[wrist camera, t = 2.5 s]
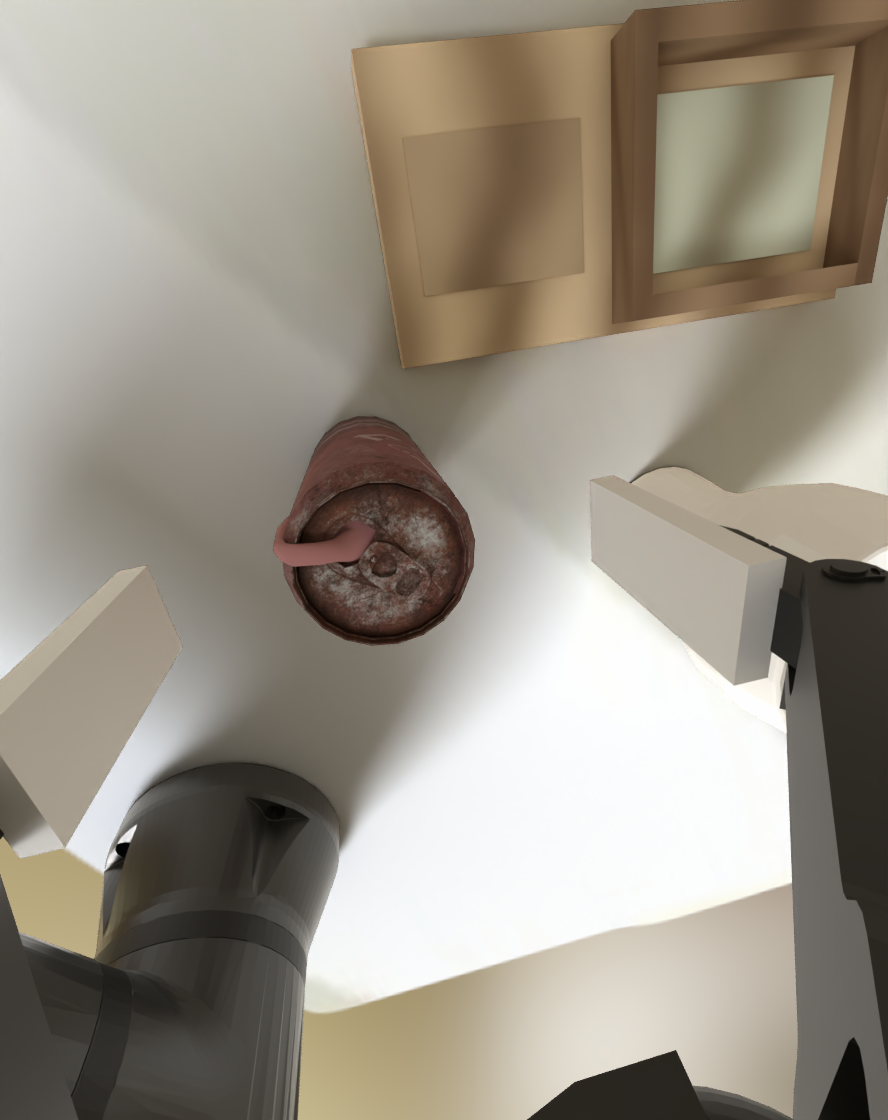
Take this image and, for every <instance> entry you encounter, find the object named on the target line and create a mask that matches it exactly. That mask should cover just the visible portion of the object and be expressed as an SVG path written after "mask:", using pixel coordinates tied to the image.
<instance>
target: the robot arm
mask: <svg viewBox="0 0 888 1120" xmlns="http://www.w3.org/2000/svg"><path fill="white" fill-rule="evenodd" d="M590 511H591V556H592V562H593V563H594V564H596V565H597V566H598V567H599V568H600V569H601V570H602V571H603V572H605V573H606V574H607V575H608V576H609V577H610V578H611V579H613V580H614V581H615V582H616V583H617V584H618V585H619V586H621V587H622V588H623V589H624V590H625V591H626V592H627V593H629V594H630V595H631V596H632V597H633V598H634V599H635V600H637V601H638V602H639V603H640V604H641V605H642V606H643V607H645V608H646V609H647V610H648V611H649V612H650V613H651V614H653V615H654V616H655V617H656V618H657V619H658V620H659V621H660V622H662V623H663V624H664V625H665V626H666V627H667V628H668V629H670V630H671V631H672V632H673V633H674V634H675V635H676V636H678V637H679V638H680V639H681V640H682V641H683V642H684V643H686V644H687V645H688V646H689V647H690V648H691V649H692V650H694V651H695V652H696V653H697V654H698V655H699V656H700V657H702V658H703V659H704V660H705V661H706V662H707V663H708V664H710V665H711V666H712V667H713V668H714V669H715V670H716V671H717V672H719V673H720V674H721V675H722V676H723V677H724V678H725V679H727V680H728V681H729V682H730V683H731V684H732V685H733V686H735V685H739V684H743V683H748V682H752V681H756V680H760V679H764V678H768V673H769V667H770V660H771V654H772V653H774V654H775V655H777V656H778V657H779V658H781V659H782V660H784V661H785V662H786V663H787V668H786V674H785V679H784V685H783V691H782V696H781V702H780V708H779V709H784V710H786V730H787V756H788V783H789V810H790V836H791V863H792V889H793V912H794V913H793V915H794V942H795V967H796V968H795V969H796V995H797V1019H798V1020H797V1022H798V1051H797V1065H796V1075H795V1086H794V1103H793V1104H794V1105H793V1119H791V1118H790V1117H788V1116H786V1115H784V1114H782V1113H780V1112H778V1111H776V1110H775V1109H773V1108H771V1107H769V1106H766V1105H764V1104H761V1103H758V1102H755V1101H753V1100H751V1099H748V1098H745V1097H743V1096H740V1095H737V1094H733V1093H729V1092H725V1091H721V1090H717V1089H713V1088H708V1087H701V1086H692V1084H691V1082H690V1080H689V1077H688V1075H687V1073H686V1071H685V1069H684V1066H683V1064H682V1062H681V1060H680V1058H679V1056H678V1053H677V1051H676V1050H675V1051H672V1052H669V1053H666V1054H662V1055H659V1056H656V1057H653V1058H650V1059H646V1060H643V1061H640V1062H637V1063H634V1064H631V1065H628V1066H624V1067H622V1068H618V1069H615V1070H612V1071H609V1072H605V1073H602V1074H599V1075H596V1076H593V1077H589V1078H586V1079H583V1080H580V1081H577V1082H574V1083H573V1084H572V1085H570V1087H568V1088H567V1089H565V1090H564V1091H563V1092H562V1093H560V1094H559V1095H558V1096H557V1097H555V1098H554V1099H553V1100H551V1101H550V1102H549V1103H548V1104H546V1105H545V1106H544V1107H543V1108H541V1109H540V1110H539V1111H538V1112H536V1113H535V1114H534V1115H532V1116H531V1117H530V1118H529V1119H527V1120H888V571H886V570H884V569H882V568H880V567H878V566H875V565H872V564H868V563H865V562H861V561H855V560H847V559H823V560H816V561H813V562H811V563H810V562H807V561H805V560H803V559H801V558H799V557H797V556H794V555H792V554H790V553H788V552H786V551H784V550H781V549H779V548H777V547H775V546H773V545H772V546H769V544H768V543H766V542H764V541H762V540H760V539H755V537H753V536H751V535H749V534H747V533H744V532H742V531H740V530H737V529H733V528H729V527H725V526H720V525H717V524H715V523H713V522H711V521H709V520H707V519H704V518H702V517H700V516H698V515H696V514H694V513H692V512H690V511H687V510H685V509H683V508H681V507H679V506H677V505H675V504H673V503H671V502H668V501H666V500H664V499H662V498H660V497H658V496H656V495H654V494H652V493H649V492H647V491H645V490H643V489H641V488H639V487H637V486H635V485H632V484H630V483H628V482H626V481H624V480H622V479H620V478H618V477H616V476H608V477H603V478H598V479H593V480H590ZM182 647H183V646H182V644H181V641H180V639H179V637H178V635H177V632H176V630H175V628H174V625H173V623H172V621H171V619H170V616H169V614H168V612H167V609H166V607H165V605H164V603H163V600H162V598H161V596H160V593H159V591H158V589H157V587H156V584H155V582H154V580H153V577H152V575H151V573H150V571H149V568H148V566H142V567H136V568H131V569H126V570H121V571H118V572H117V573H116V574H115V575H114V576H113V577H112V578H111V579H110V580H108V581H107V582H106V583H105V584H104V585H103V586H102V587H101V588H100V589H99V590H98V591H97V592H95V593H94V594H93V595H92V596H91V597H90V598H89V599H88V600H87V601H86V602H85V603H84V604H82V605H81V606H80V607H79V608H78V609H77V610H76V611H75V612H74V613H73V614H72V615H71V616H69V617H68V618H67V619H66V620H65V621H64V622H63V623H62V624H61V625H60V626H59V627H58V628H56V629H55V630H54V631H53V632H52V633H51V634H50V635H49V636H48V637H47V638H46V639H45V640H43V641H42V642H41V643H40V644H39V645H38V646H37V647H36V648H35V649H34V650H33V651H32V652H30V653H29V654H28V655H27V656H26V657H25V658H24V659H23V660H22V661H21V662H20V663H19V664H17V665H16V666H15V667H14V668H13V669H12V670H11V671H10V672H9V673H8V674H7V675H5V676H4V677H3V678H2V679H1V680H0V839H1V838H2V836H3V837H4V838H5V840H6V841H7V842H8V843H9V845H10V846H11V847H12V849H13V850H14V851H15V853H16V854H17V855H18V856H19V858H25V857H29V856H33V855H37V854H41V853H45V852H49V851H54V850H57V849H62V848H65V847H66V845H67V843H68V842H69V840H70V838H71V837H72V835H73V833H74V832H75V830H76V828H77V826H78V825H79V823H80V821H81V820H82V818H83V816H84V814H85V813H86V811H87V809H88V808H89V806H90V804H91V803H92V801H93V799H94V797H95V796H96V794H97V792H98V791H99V789H100V787H101V785H102V784H103V782H104V780H105V779H106V777H107V775H108V774H109V772H110V770H111V768H112V767H113V765H114V763H115V762H116V760H117V758H118V756H119V755H120V753H121V751H122V750H123V748H124V746H125V745H126V743H127V741H128V739H129V738H130V736H131V734H132V733H133V731H134V729H135V727H136V726H137V724H138V722H139V721H140V719H141V717H142V716H143V714H144V712H145V710H146V709H147V707H148V705H149V704H150V702H151V700H152V698H153V697H154V695H155V693H156V692H157V690H158V688H159V687H160V685H161V683H162V681H163V680H164V678H165V676H166V675H167V673H168V671H169V669H170V668H171V666H172V664H173V663H174V661H175V659H176V657H177V656H178V654H179V652H180V651H181V649H182ZM339 835H340V832H339V823H338V819H337V816H336V814H335V811H334V810H333V808H332V806H331V804H330V803H329V801H328V800H327V799H326V798H325V797H324V796H323V794H322V793H321V792H319V791H318V790H317V789H316V788H315V787H313V786H312V785H311V784H309V783H308V782H306V781H304V780H303V779H301V778H299V777H297V776H295V775H292V774H290V773H287V772H285V771H282V770H278V769H275V768H271V767H266V766H260V765H252V764H220V765H212V766H206V767H201V768H197V769H193V770H189V771H186V772H183V773H181V774H178V775H176V776H173V777H171V778H169V779H167V780H165V781H163V782H161V783H159V784H158V785H156V786H155V787H153V788H152V789H150V790H149V791H148V792H146V793H145V794H144V795H143V796H142V797H140V798H139V799H138V800H137V802H136V803H135V804H134V805H133V806H132V807H131V809H130V810H129V811H128V813H127V814H126V816H125V818H124V820H123V822H122V824H121V826H120V828H119V830H118V832H117V834H116V837H115V839H114V841H113V843H112V845H111V847H110V850H109V853H108V856H107V860H106V865H105V872H104V882H103V893H102V901H101V911H100V921H99V930H98V939H97V949H96V954H95V958H94V959H92V958H89V957H86V956H83V955H81V954H78V953H75V952H72V951H70V950H67V949H64V948H62V947H59V946H56V945H54V944H51V943H48V942H46V941H42V940H40V939H38V938H35V937H32V936H29V935H27V934H24V933H21V932H19V931H18V929H17V925H16V922H15V919H14V916H13V913H12V910H11V907H10V904H9V901H8V897H7V894H6V891H5V888H4V885H3V882H2V878H1V875H0V1120H297V1119H298V1103H299V1102H298V1101H299V1084H300V1068H301V1051H302V1033H303V1016H304V999H305V980H306V967H307V956H308V952H309V949H310V946H311V943H312V940H313V938H314V935H315V932H316V929H317V927H318V924H319V921H320V918H321V915H322V913H323V910H324V907H325V904H326V902H327V899H328V896H329V893H330V890H331V888H332V885H333V882H334V879H335V876H336V873H337V868H338V862H339Z"/></svg>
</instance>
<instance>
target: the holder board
mask: <svg viewBox="0 0 888 1120" xmlns="http://www.w3.org/2000/svg"><path fill="white" fill-rule="evenodd" d="M352 75H353V81H354V87H355V93H356V99H357V104H358V110H359V116H360V122H361V128H362V134H363V140H364V146H365V152H366V158H367V164H368V170H369V175H370V181H371V187H372V193H373V199H374V205H375V211H376V217H377V223H378V229H379V235H380V241H381V247H382V252H383V258H384V264H385V270H386V276H387V282H388V288H389V294H390V300H391V306H392V312H393V318H394V324H395V329H396V335H397V341H398V347H399V353H400V359H401V365H402V368H404V369H406V368H412V367H418V366H424V365H430V364H436V363H442V362H448V361H454V360H460V359H467V358H473V357H479V356H485V355H491V354H497V353H503V352H509V351H515V350H521V349H527V348H533V347H540V346H546V345H552V344H558V343H564V342H570V341H576V340H582V339H588V338H594V337H600V336H607V335H613V334H619V333H625V332H631V331H637V330H643V329H649V328H655V327H661V326H667V325H673V324H680V323H686V322H692V321H698V320H704V319H710V318H716V317H722V316H728V315H734V314H740V313H746V312H753V311H759V310H765V309H771V308H777V307H783V306H789V305H795V304H801V303H807V302H813V301H819V300H826V299H832V298H834V296H835V290H836V288H842V287H848V286H854V285H860V284H866V283H872V278H873V272H874V267H875V261H876V256H877V251H878V245H879V240H880V234H881V229H882V223H883V218H884V212H885V207H886V202H887V196H888V0H741V1H730V2H719V3H708V4H697V5H686V6H675V7H664V8H653V9H642V10H635V11H634V13H633V14H632V15H631V16H630V18H629V19H628V20H627V21H626V22H625V23H624V24H613V25H603V26H592V27H581V28H570V29H560V30H549V31H538V32H528V33H517V34H506V35H496V36H485V37H474V38H464V39H453V40H442V41H432V42H421V43H410V44H400V45H389V46H378V47H368V48H357V49H352Z"/></svg>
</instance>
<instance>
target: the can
mask: <svg viewBox="0 0 888 1120" xmlns="http://www.w3.org/2000/svg"><path fill="white" fill-rule="evenodd" d="M474 547H475V539H474V535H473V532H472V528H471V525H470V521H469V518H468V514H467V512H466V511H465V509H464V508H463V507H462V505H461V504H460V502H459V501H458V499H457V498H456V497H455V495H454V494H453V492H452V491H451V490H450V488H449V487H448V486H447V484H446V483H445V482H444V480H443V479H442V478H441V476H440V475H439V474H438V473H437V471H436V470H435V469H434V467H433V466H432V465H431V463H430V462H429V461H428V460H427V458H426V457H425V456H424V454H423V453H422V452H421V450H420V449H419V448H418V446H417V445H416V444H415V443H414V441H413V440H412V439H411V437H410V436H409V435H408V433H406V432H405V431H404V430H402V429H401V428H400V427H398V426H397V425H396V424H394V423H393V422H390V421H387V420H384V419H381V418H378V417H354V418H351V419H348V420H345V421H342V422H339V423H338V424H337V425H336V426H334V427H333V428H332V429H330V430H329V431H328V432H326V433H325V434H324V436H323V437H322V439H321V440H320V442H319V444H318V445H317V447H316V448H315V450H314V453H313V456H312V458H311V461H310V464H309V466H308V469H307V471H306V474H305V477H304V479H303V482H302V484H301V487H300V490H299V492H298V495H297V497H296V500H295V503H294V505H293V508H292V511H291V513H290V516H288V517H287V518H286V519H285V521H284V522H283V523H282V524H281V525H280V526H279V527H278V529H277V532H276V536H275V541H274V545H273V551H274V553H275V555H276V556H277V557H278V558H279V559H280V560H281V561H282V562H283V567H284V576H285V578H286V580H287V582H288V584H289V586H290V588H291V590H292V592H293V594H294V597H295V599H296V601H297V602H298V603H299V604H300V605H301V606H302V607H303V608H304V610H305V611H306V612H307V613H308V614H309V615H310V616H311V617H312V618H313V619H314V620H315V621H316V622H317V623H318V624H319V625H320V626H321V627H322V628H324V629H325V630H327V631H329V632H331V633H333V634H335V635H337V636H339V637H341V638H343V639H344V640H347V641H352V642H357V643H362V644H367V645H386V644H399V643H402V642H404V641H407V640H410V639H413V638H416V637H419V636H421V635H424V634H425V633H427V632H428V631H429V630H431V629H432V628H434V627H435V626H436V625H438V624H439V623H441V622H442V621H444V620H445V619H446V617H447V616H448V615H449V614H450V612H451V611H452V610H453V609H454V607H455V606H456V605H457V604H458V602H459V601H460V599H461V597H462V594H463V592H464V590H465V587H466V585H467V582H468V580H469V577H470V574H471V572H472V569H473V566H474Z"/></svg>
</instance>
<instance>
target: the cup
mask: <svg viewBox="0 0 888 1120" xmlns="http://www.w3.org/2000/svg"><path fill="white" fill-rule="evenodd" d="M631 484H632V485H635V486H637V487H639V488H641V489H643V490H645V491H647V492H649V493H652V494H654V495H656V496H658V497H660V498H662V499H664V500H666V501H668V502H671V503H673V504H675V505H677V506H679V507H681V508H683V509H685V510H687V511H690V512H692V513H694V514H696V515H698V516H700V517H702V518H704V519H707V520H709V521H711V522H713V523H715V524H717V525H720V526H725V527H729V528H733V529H737V530H740V531H742V532H744V533H747V534H749V535H751V536H753V537H755V539H760V540H762V541H764V542H766V543H768V544H769V546H772V545H773V546H775V547H777V548H779V549H781V550H784V551H786V552H788V553H790V554H792V555H794V556H797V557H799V558H801V559H803V560H805V561H807V562H810V563H811V562H813V561H816V560H823V559H847V560H855V561H861V562H865V563H868V564H872V565H875V566H878V567H880V568H882V569H884V570H886V571H888V496H887V495H883V494H879V493H875V492H871V491H867V490H863V489H859V488H855V487H849V486H844V485H839V484H834V483H819V484H794V485H780V486H772V487H763V488H759V489H755V490H752V491H748V492H745V493H741V494H739V493H733V492H726V491H724V490H723V489H721V488H720V487H718V486H717V485H715V484H714V483H712V482H710V481H709V480H707V479H705V478H703V477H701V476H700V475H698V474H696V473H694V472H692V471H690V470H688V469H684V468H678V467H667V468H659V469H657V470H654V471H651V472H649V473H646V474H644V475H643V476H641V477H640V478H638V479H637V480H635V481H634V482H632V483H631ZM682 642H683V641H682ZM683 644H684V646H685V648H686V649H687V651H688V653H689V655H690V656H691V658H692V660H693V662H694V664H695V665H696V667H697V669H698V670H699V671H701V672H702V673H703V674H704V675H705V676H706V677H707V678H708V679H709V680H711V681H712V682H713V683H714V684H715V685H716V686H717V687H718V688H719V689H720V690H722V691H723V692H724V693H725V694H726V695H727V696H728V697H729V698H731V699H732V700H733V701H734V702H735V703H736V704H738V705H739V706H740V707H741V708H742V709H744V710H745V711H747V712H749V713H751V714H753V715H754V716H756V717H758V718H760V719H762V720H764V721H765V722H767V723H769V724H771V725H773V726H775V727H776V728H778V729H780V730H782V731H784V732H785V733H787V730H786V710H784V709H779V708H780V702H781V696H782V691H783V685H784V679H785V674H786V668H787V663H786V662H785V661H784V660H782V659H781V658H779V657H778V656H777V655H775V654H774V653H772V654H771V660H770V667H769V673H768V678H764V679H760V680H756V681H752V682H748V683H743V684H739V685H735V686H733V685H732V684H731V683H730V682H729V681H728V680H727V679H725V678H724V677H723V676H722V675H721V674H720V673H719V672H717V671H716V670H715V669H714V668H713V667H712V666H711V665H710V664H708V663H707V662H706V661H705V660H704V659H703V658H702V657H700V656H699V655H698V654H697V653H696V652H695V651H694V650H692V649H691V648H690V647H689V646H688V645H687V644H686V643H684V642H683Z"/></svg>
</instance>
